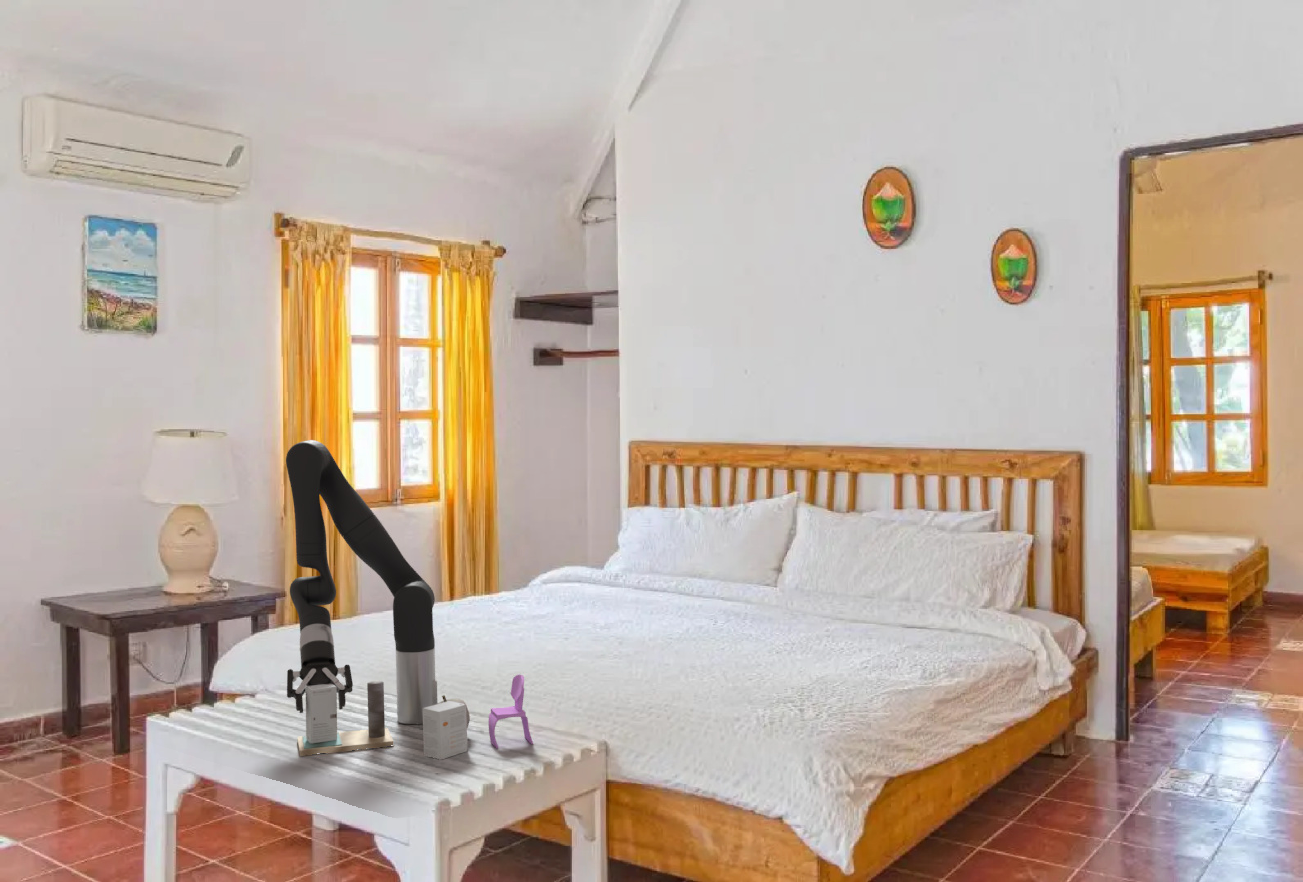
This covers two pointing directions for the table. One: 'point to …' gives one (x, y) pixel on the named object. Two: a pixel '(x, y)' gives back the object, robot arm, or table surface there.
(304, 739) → the board
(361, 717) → the table surface
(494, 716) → the toy chair
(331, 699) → the skincare box
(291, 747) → the table surface
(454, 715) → the small box
